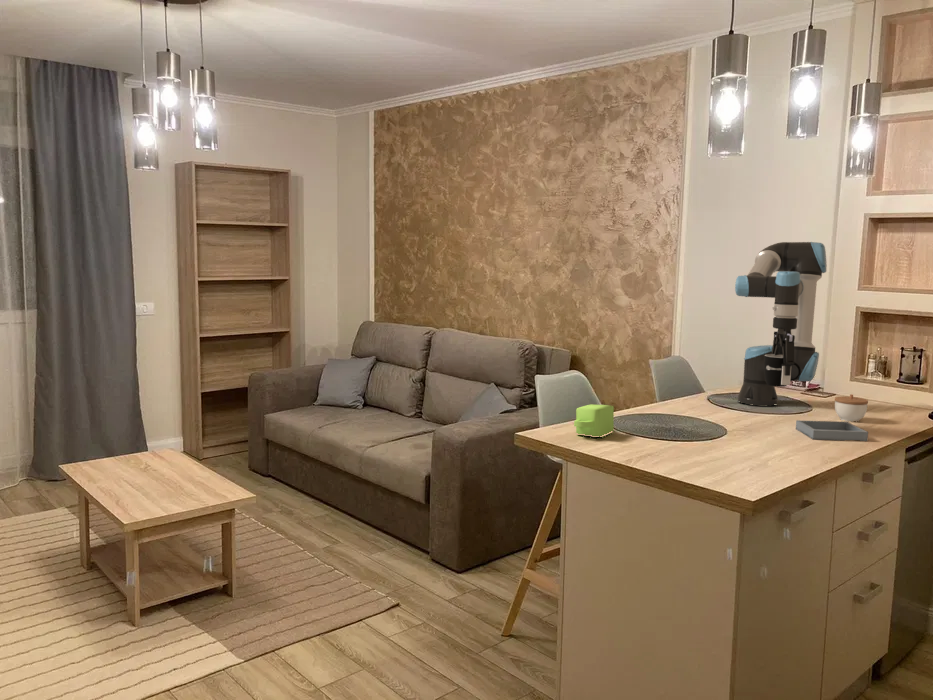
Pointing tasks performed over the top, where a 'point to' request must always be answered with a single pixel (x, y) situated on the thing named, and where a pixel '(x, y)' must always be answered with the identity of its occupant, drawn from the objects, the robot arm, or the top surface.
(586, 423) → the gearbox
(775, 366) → the mug
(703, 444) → the top surface
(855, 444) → the top surface
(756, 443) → the top surface
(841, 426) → the gray tray
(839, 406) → the lidded jar
